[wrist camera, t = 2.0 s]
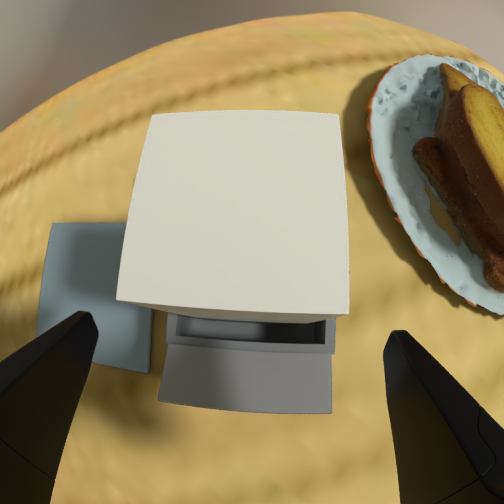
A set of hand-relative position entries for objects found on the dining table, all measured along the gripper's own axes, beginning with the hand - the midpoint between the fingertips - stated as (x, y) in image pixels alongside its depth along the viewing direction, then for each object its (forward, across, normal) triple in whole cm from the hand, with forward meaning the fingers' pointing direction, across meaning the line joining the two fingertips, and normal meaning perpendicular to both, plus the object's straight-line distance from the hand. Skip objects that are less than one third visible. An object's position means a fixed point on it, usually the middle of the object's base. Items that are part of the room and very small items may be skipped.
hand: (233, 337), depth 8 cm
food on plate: (+17, -20, -1) cm, 27 cm away
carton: (+10, 0, +5) cm, 11 cm away
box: (+10, 0, +5) cm, 11 cm away
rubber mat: (+9, +12, +6) cm, 16 cm away
